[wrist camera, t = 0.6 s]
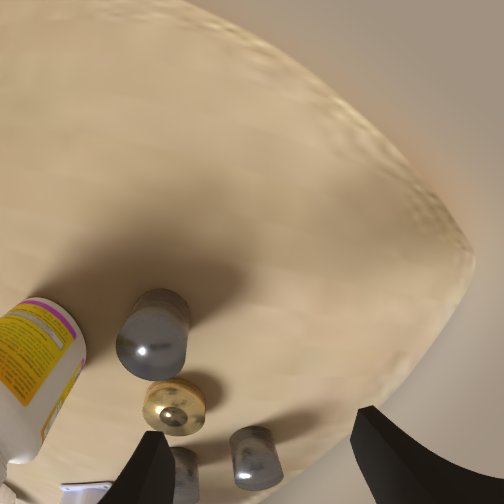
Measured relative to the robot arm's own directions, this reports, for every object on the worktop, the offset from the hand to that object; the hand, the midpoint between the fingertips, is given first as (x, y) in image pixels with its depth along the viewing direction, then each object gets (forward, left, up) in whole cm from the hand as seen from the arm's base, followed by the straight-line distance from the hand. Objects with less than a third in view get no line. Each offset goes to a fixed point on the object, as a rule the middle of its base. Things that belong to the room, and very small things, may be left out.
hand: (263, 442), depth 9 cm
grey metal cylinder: (-4, +3, -10) cm, 11 cm away
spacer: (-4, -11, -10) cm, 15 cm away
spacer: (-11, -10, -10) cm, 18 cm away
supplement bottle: (-13, +5, -10) cm, 17 cm away
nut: (-7, -4, -10) cm, 13 cm away
